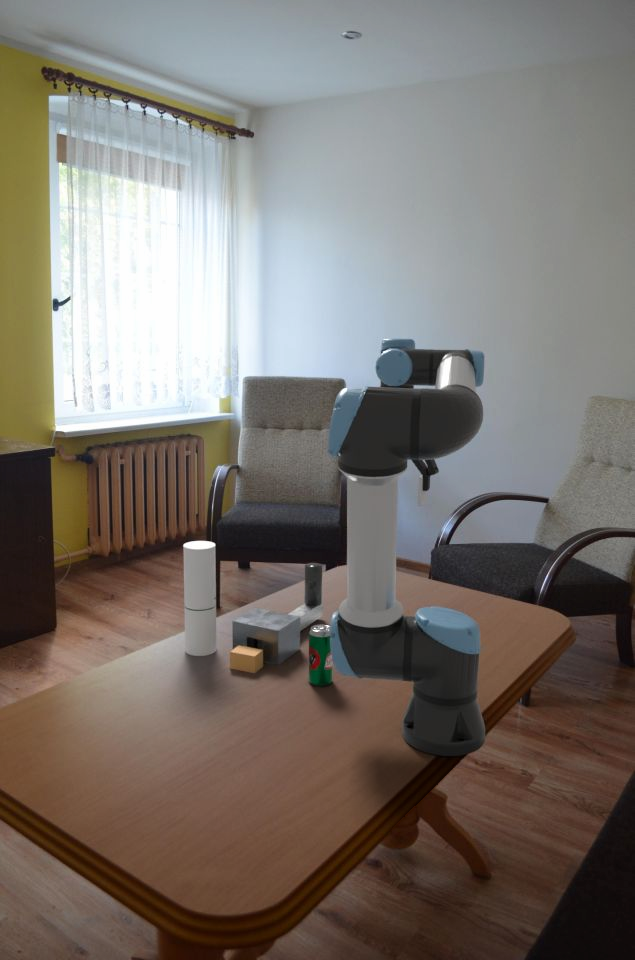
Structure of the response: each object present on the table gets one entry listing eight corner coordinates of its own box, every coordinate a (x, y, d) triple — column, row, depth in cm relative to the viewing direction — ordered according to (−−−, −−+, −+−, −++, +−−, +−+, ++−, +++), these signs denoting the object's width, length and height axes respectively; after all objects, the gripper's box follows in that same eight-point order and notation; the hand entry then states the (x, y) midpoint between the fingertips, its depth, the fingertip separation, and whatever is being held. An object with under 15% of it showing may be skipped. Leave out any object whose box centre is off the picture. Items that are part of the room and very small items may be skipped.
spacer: (262, 666, 176) (254, 673, 172) (238, 662, 178) (230, 669, 174) (263, 649, 175) (254, 656, 171) (238, 645, 177) (230, 651, 174)
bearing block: (278, 665, 176) (278, 630, 175) (232, 654, 182) (232, 621, 180) (299, 649, 185) (300, 616, 184) (255, 639, 191) (255, 607, 189)
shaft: (272, 651, 181) (272, 594, 179) (255, 647, 183) (255, 591, 181) (324, 615, 204) (325, 564, 202) (309, 612, 206) (310, 561, 204)
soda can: (329, 688, 165) (330, 633, 163) (306, 685, 166) (306, 631, 164) (334, 678, 170) (335, 624, 168) (311, 675, 171) (311, 622, 169)
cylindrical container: (219, 644, 187) (218, 541, 183) (212, 656, 180) (211, 550, 176) (189, 642, 188) (187, 540, 183) (181, 655, 181) (179, 548, 176)
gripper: (455, 410, 176) (450, 504, 180) (352, 404, 187) (350, 492, 191) (444, 413, 170) (440, 510, 173) (338, 406, 181) (336, 498, 185)
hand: (393, 501), depth 182 cm, fingers open, 13 cm apart
